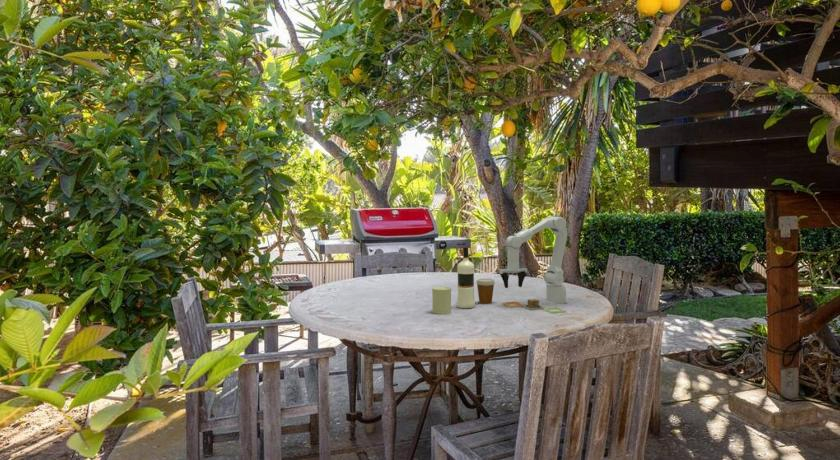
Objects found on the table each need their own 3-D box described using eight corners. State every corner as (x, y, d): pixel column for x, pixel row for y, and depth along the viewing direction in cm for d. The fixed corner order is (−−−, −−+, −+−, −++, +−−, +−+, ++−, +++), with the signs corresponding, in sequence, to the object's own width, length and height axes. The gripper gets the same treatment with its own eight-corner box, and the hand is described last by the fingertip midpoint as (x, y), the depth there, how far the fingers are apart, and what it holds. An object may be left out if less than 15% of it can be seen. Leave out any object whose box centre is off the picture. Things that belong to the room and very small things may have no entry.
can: (453, 313, 275) (453, 288, 274) (434, 314, 274) (434, 289, 273) (449, 309, 284) (449, 285, 283) (430, 310, 283) (430, 285, 282)
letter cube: (534, 306, 286) (534, 298, 286) (539, 308, 282) (539, 300, 282) (527, 307, 285) (527, 299, 285) (531, 309, 281) (531, 300, 281)
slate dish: (536, 306, 289) (536, 304, 289) (544, 309, 281) (544, 307, 281) (522, 307, 286) (522, 305, 286) (530, 311, 279) (530, 308, 279)
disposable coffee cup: (494, 305, 292) (494, 281, 292) (475, 304, 294) (475, 281, 293) (495, 301, 302) (495, 278, 301) (477, 301, 304) (477, 278, 303)
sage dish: (557, 309, 282) (557, 307, 282) (566, 312, 274) (566, 310, 274) (542, 310, 279) (542, 308, 279) (551, 314, 272) (551, 311, 271)
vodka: (453, 307, 288) (452, 247, 286) (462, 304, 296) (462, 245, 293) (469, 309, 283) (469, 248, 280) (478, 306, 290) (478, 246, 288)
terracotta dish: (516, 303, 296) (516, 301, 296) (524, 306, 288) (524, 304, 288) (502, 304, 293) (502, 302, 293) (509, 308, 286) (509, 305, 286)
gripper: (522, 258, 295) (522, 285, 296) (496, 259, 290) (496, 286, 292) (529, 260, 288) (529, 287, 289) (502, 261, 284) (502, 289, 285)
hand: (513, 287), depth 290 cm, fingers open, 7 cm apart
